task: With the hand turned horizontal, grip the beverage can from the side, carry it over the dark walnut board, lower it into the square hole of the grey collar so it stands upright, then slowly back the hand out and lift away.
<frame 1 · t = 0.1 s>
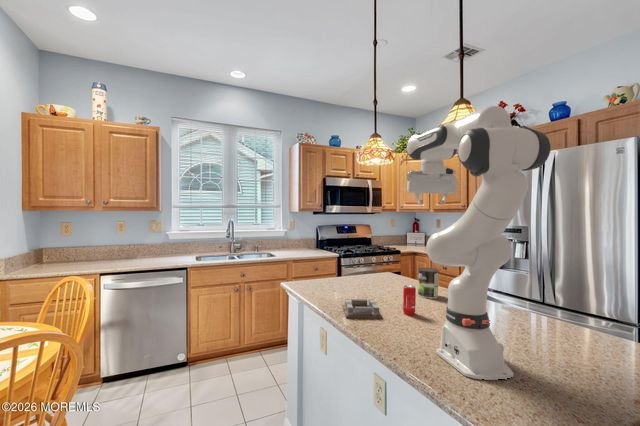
hand: (431, 204, 129), 48 cm above the countertop, tool pointing down, fingers open, 8 cm apart
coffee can: (427, 296, 165), on the countertop
beverage can: (409, 314, 137), on the countertop
socket block: (361, 312, 137), on the countertop
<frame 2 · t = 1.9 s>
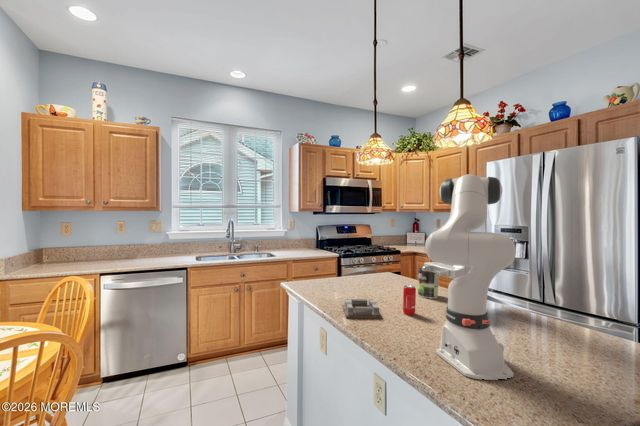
hand: (430, 271, 142), 18 cm above the countertop, tool horizontal, fingers open, 8 cm apart
nothing on the countertop moved.
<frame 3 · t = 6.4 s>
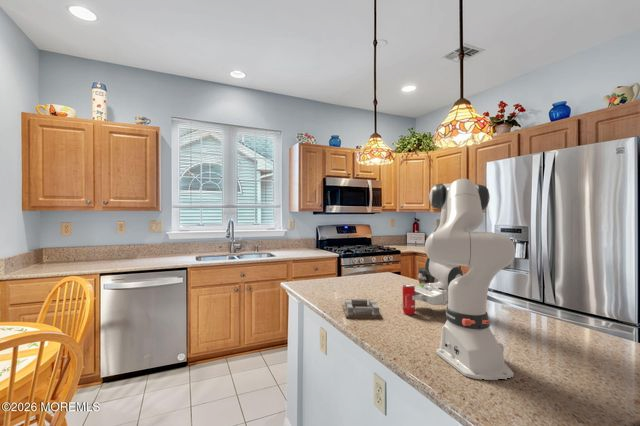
hand: (407, 295, 136), 8 cm above the countertop, tool horizontal, fingers closed on beverage can, 4 cm apart
beverage can: (409, 313, 137), on the countertop, touching gripper
everything else where it was.
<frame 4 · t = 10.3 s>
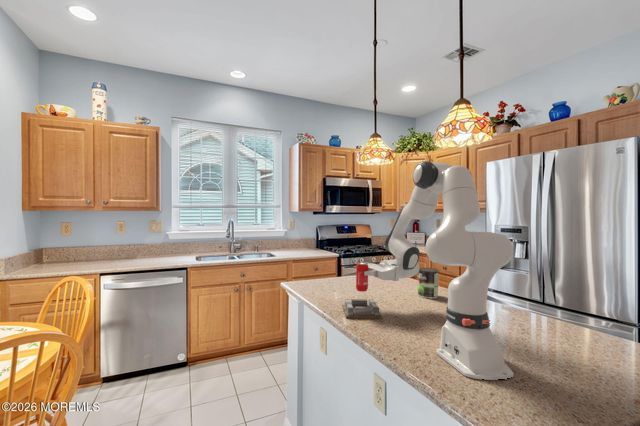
hand: (360, 272, 137), 18 cm above the countertop, tool horizontal, fingers closed on beverage can, 4 cm apart
beverage can: (361, 290, 138), point 9 cm above the countertop, touching gripper
everything else where it was.
when the fingers open (9 cm above the countertop, at t = 14.1 s): beverage can moves 1 cm, resting on socket block.
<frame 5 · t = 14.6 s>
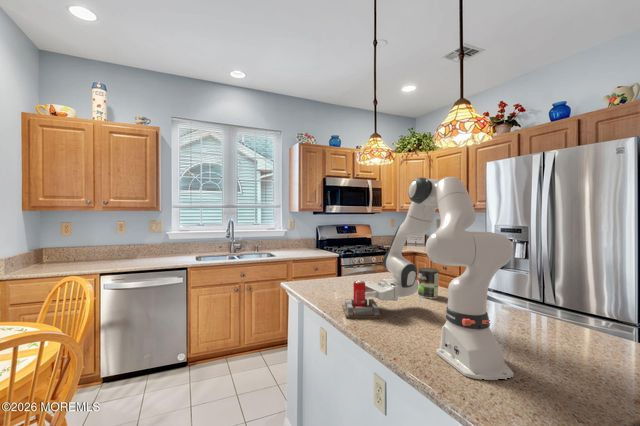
hand: (359, 291, 137), 9 cm above the countertop, tool horizontal, fingers open, 8 cm apart
beverage can: (359, 309, 139), point 1 cm above the countertop, touching gripper, socket block
everything else where it was.
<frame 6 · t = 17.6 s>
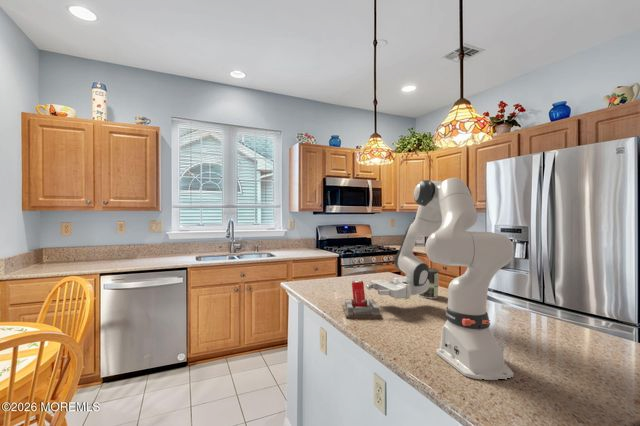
hand: (372, 289, 140), 9 cm above the countertop, tool horizontal, fingers open, 8 cm apart
beverage can: (360, 308, 139), point 1 cm above the countertop, touching socket block
everything else where it was.
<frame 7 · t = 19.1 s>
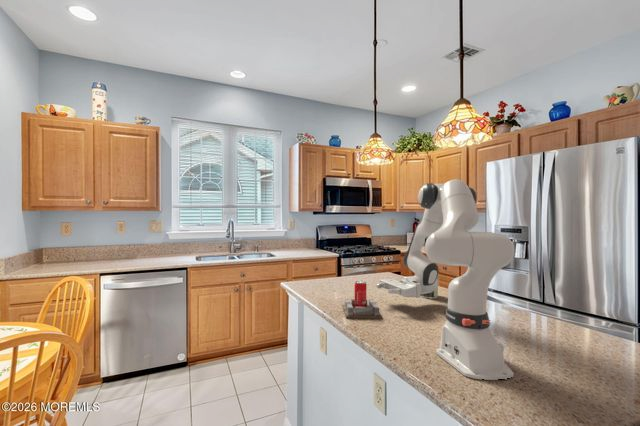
hand: (383, 288, 142), 9 cm above the countertop, tool horizontal, fingers open, 8 cm apart
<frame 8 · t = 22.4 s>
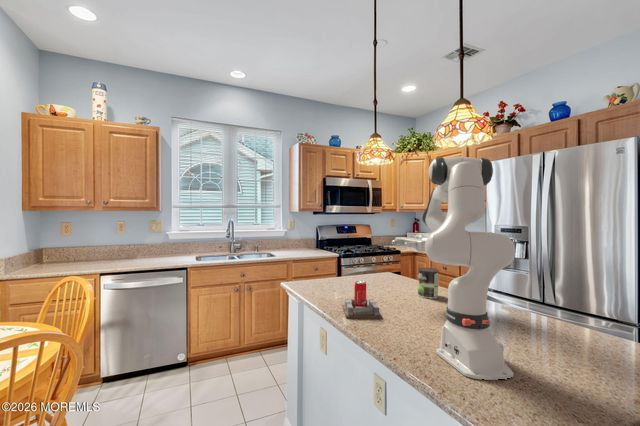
hand: (399, 243, 144), 30 cm above the countertop, tool horizontal, fingers open, 8 cm apart
nothing on the countertop moved.
at the end: beverage can 1.5 cm off-centre on the socket block, point 0.8 cm above the socket block's base; beverage can tilted 0°; the gripper is holding nothing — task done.
